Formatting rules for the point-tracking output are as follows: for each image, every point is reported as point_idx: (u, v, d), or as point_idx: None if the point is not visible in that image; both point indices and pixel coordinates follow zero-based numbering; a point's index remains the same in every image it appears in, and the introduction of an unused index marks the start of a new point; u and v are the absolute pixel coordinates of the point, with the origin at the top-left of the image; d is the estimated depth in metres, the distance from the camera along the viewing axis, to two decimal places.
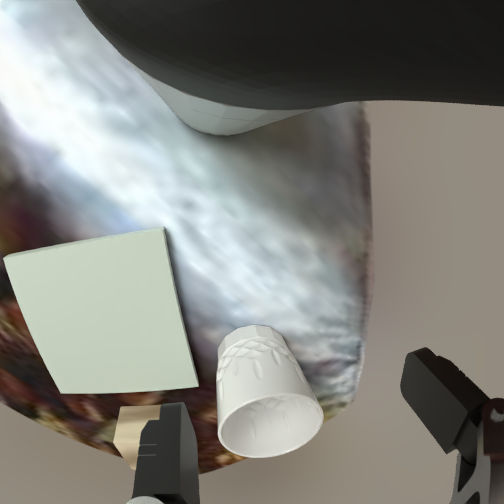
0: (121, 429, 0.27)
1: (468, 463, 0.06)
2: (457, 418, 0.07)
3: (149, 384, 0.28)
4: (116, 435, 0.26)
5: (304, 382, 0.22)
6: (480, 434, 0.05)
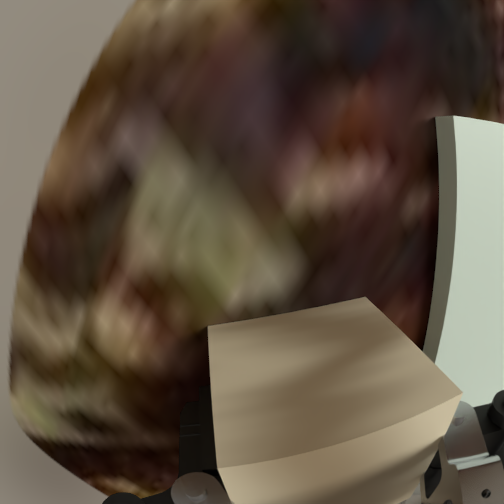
0: None
1: (431, 467, 0.06)
2: None
3: None
4: None
5: None
6: None
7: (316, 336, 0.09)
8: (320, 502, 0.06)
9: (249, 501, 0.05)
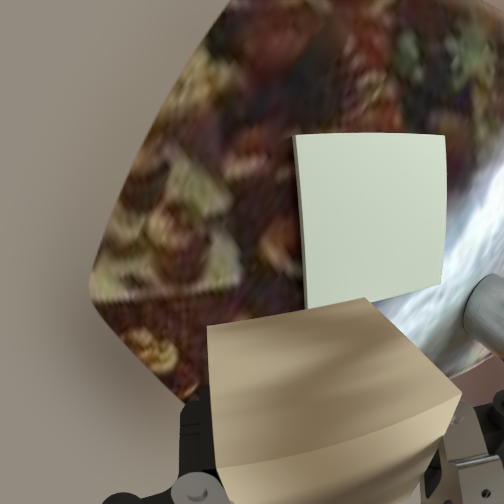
0: None
1: (431, 467, 0.06)
2: None
3: (315, 265, 0.27)
4: None
5: None
6: None
7: (315, 336, 0.09)
8: (319, 502, 0.06)
9: (248, 501, 0.05)
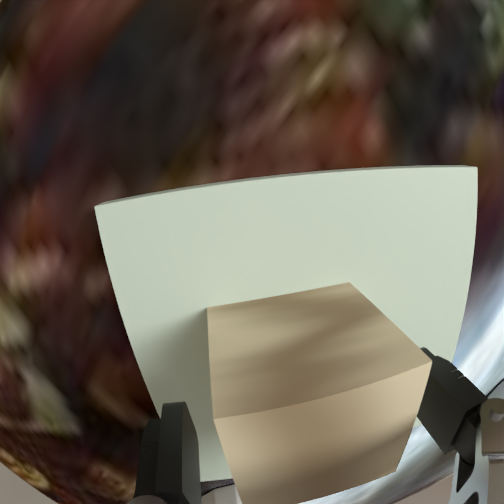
0: None
1: (466, 463, 0.06)
2: (455, 418, 0.07)
3: None
4: None
5: None
6: (478, 434, 0.06)
7: (303, 314, 0.10)
8: (307, 464, 0.07)
9: (242, 458, 0.07)
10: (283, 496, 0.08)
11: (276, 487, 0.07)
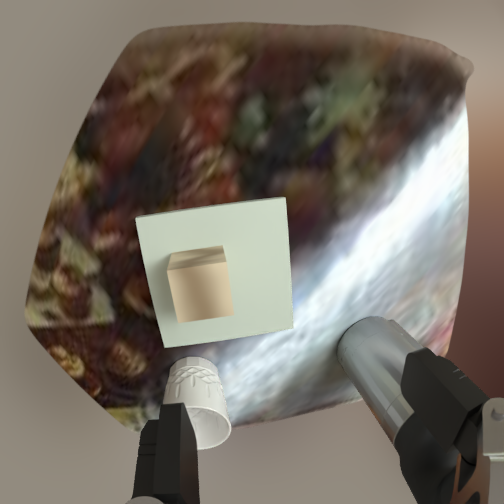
0: None
1: (468, 463, 0.06)
2: (457, 418, 0.07)
3: (163, 312, 0.35)
4: None
5: None
6: (480, 434, 0.05)
7: (200, 253, 0.32)
8: (194, 294, 0.29)
9: (174, 287, 0.28)
10: (189, 313, 0.29)
11: (186, 306, 0.29)
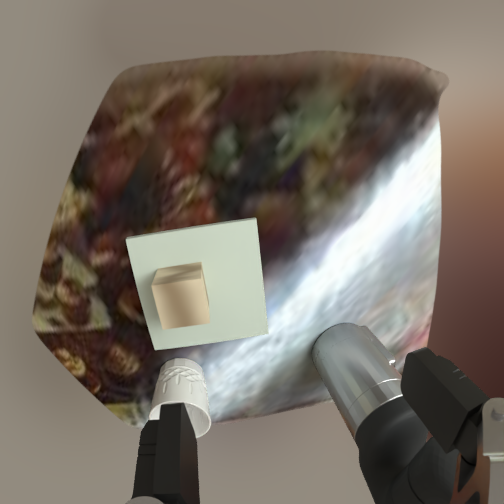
0: (202, 277, 0.35)
1: (468, 463, 0.06)
2: (457, 418, 0.07)
3: (152, 319, 0.39)
4: (201, 276, 0.34)
5: None
6: (480, 434, 0.05)
7: (181, 269, 0.36)
8: (175, 306, 0.33)
9: (158, 300, 0.33)
10: (172, 321, 0.34)
11: (169, 315, 0.34)
